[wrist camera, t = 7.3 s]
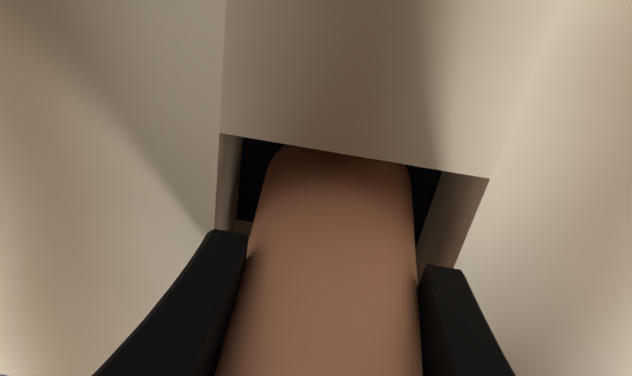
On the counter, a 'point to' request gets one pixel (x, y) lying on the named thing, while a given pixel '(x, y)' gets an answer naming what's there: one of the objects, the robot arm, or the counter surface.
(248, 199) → the counter surface
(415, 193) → the counter surface
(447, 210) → the socket block
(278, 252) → the peg
